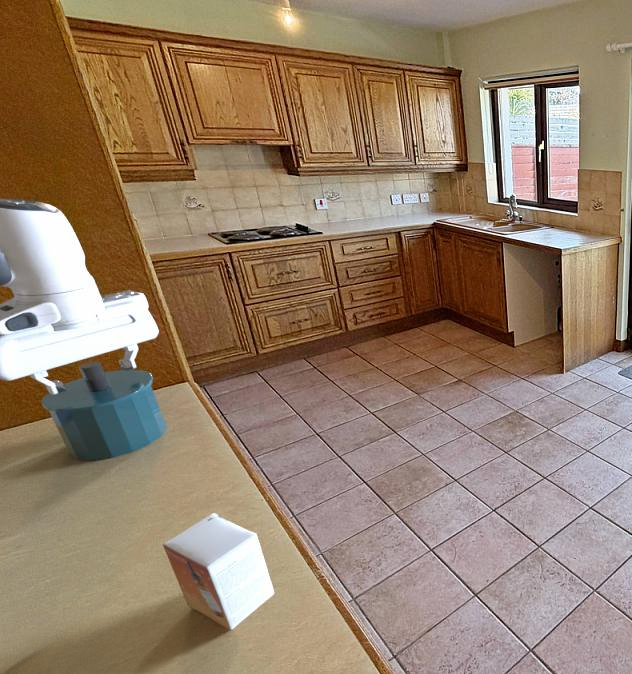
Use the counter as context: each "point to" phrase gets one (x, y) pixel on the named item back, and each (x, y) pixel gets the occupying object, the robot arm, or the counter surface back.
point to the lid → (97, 389)
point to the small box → (220, 570)
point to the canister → (112, 427)
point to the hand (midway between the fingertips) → (95, 379)
